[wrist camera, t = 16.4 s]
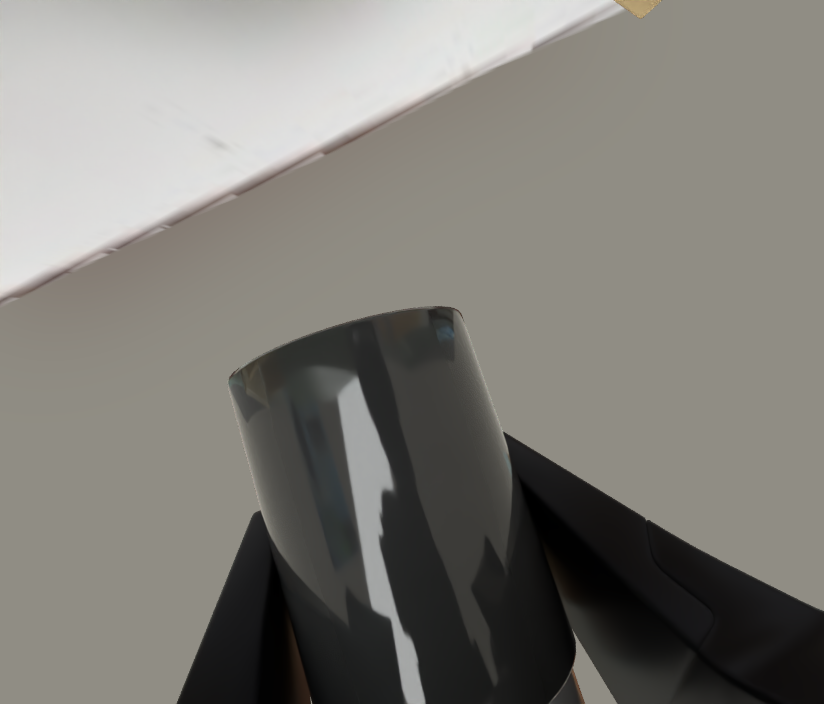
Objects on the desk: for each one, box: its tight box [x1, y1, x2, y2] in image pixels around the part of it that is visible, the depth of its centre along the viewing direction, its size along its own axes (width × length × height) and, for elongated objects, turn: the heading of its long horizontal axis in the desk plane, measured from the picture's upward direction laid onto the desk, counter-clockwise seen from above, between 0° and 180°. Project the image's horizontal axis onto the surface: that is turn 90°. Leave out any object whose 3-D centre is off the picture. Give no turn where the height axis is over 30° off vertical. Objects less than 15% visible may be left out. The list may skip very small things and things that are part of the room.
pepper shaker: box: [227, 306, 585, 704], centre depth 8 cm, size 4×4×7 cm
